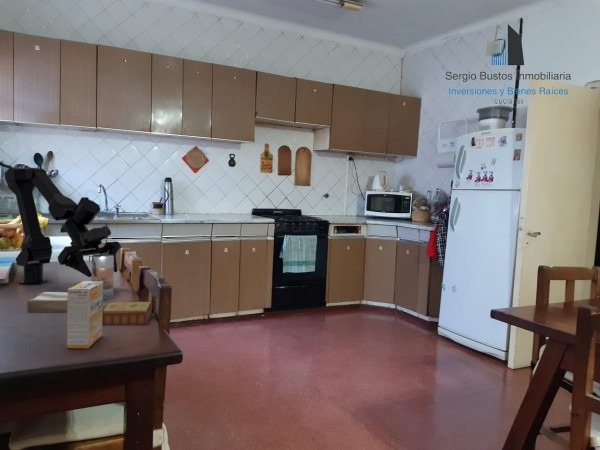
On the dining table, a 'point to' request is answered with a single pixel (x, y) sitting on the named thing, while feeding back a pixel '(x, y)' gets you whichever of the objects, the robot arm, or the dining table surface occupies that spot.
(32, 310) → the board
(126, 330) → the dining table surface
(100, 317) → the supplement box
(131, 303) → the carton
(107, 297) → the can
